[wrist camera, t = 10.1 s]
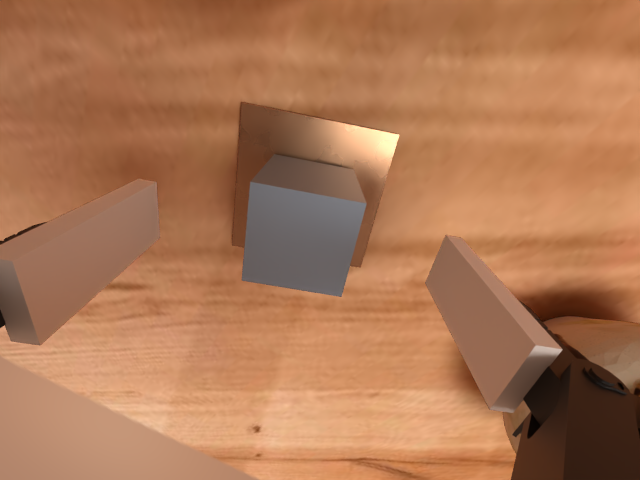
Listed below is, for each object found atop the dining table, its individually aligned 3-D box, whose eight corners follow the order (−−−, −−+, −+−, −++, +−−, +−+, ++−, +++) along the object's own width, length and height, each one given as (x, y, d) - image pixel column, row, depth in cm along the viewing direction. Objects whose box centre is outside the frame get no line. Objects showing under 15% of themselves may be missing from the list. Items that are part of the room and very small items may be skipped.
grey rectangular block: (274, 154, 19) (250, 181, 13) (353, 169, 19) (366, 203, 13) (265, 227, 21) (241, 280, 15) (336, 239, 22) (341, 296, 15)
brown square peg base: (243, 102, 19) (201, 105, 12) (397, 133, 19) (432, 152, 13) (233, 242, 23) (199, 297, 17) (359, 264, 24) (372, 325, 17)
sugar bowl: (424, 330, 27) (527, 572, 13) (594, 226, 22) (1022, 434, 8) (528, 432, 33) (671, 668, 19) (678, 366, 28) (1005, 618, 15)
